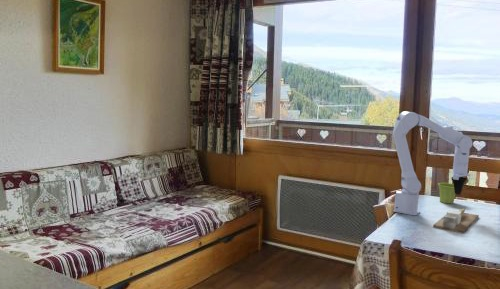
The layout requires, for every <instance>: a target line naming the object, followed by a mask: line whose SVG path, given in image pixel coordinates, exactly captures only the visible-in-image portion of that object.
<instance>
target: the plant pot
mask: <svg viewBox="0 0 500 289" xmlns="http://www.w3.org/2000/svg"><path fill="white" fill-rule="evenodd" d="M437 185H438V188H439V202H441V203H442V204H446V205H447V204H449V205H450V204H454V201H455V198H456V195H457V194H455V191H454V184H453V183H449V182H438V183H437Z"/></svg>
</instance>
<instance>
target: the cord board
mask: <svg viewBox="0 0 500 289" xmlns="http://www.w3.org/2000/svg"><path fill="white" fill-rule="evenodd" d="M465 209H466V208H461V209H459V210H458V211H459V212H461V222H460V223H459V224H458V225H456V218H457V217H453V216H448V215H447V213H446V214H444V216H443V217H441V218H440V219H439V220H438V221H437V222H435V223H433V227H432V228H435V229H439V230H445V231H450V232H453V233H455V232H456V233H460V234H465V232H466V231H467V230H468V229H469V228H470V227H471V226H472V225H473V224H474V223H475V222H476V221H477V220H478V219H479V214H472V213H467V212H466V211H465Z"/></svg>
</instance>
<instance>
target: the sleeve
mask: <svg viewBox="0 0 500 289" xmlns="http://www.w3.org/2000/svg"><path fill="white" fill-rule="evenodd" d="M446 214H447V215H448V216H453V217H457V218H456V225H458V224H459V223H460V222H461V212H459V210H452V209H449V210H448V211H447V212H446Z"/></svg>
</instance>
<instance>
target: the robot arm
mask: <svg viewBox="0 0 500 289" xmlns="http://www.w3.org/2000/svg"><path fill="white" fill-rule="evenodd" d="M395 119H396V120H395V123H394V126H393V130H392V137H393V140H394V146H395V150H396V152H397V153H396V154H397V157H398V161H399V166H400V169H401V175H400V176H401V180H400V185H401V187H402V189H401V190H397V191H396V193H395V195H394V205H393V211H392V212H395V213H399V214H405V215H411V216H416V215H419V214H420V213H421V210H418V207H419V197H420V191H421V189H422V183H421V181H420V180H419V179H418V176H417V174H416V172H415V170H414V165H413V162H412V156H411V153H410V148H409V144H408V139H407V134H408V133H409V132H410V130H412V129H413V128H414V127H416V126H423V127H425V128H428V129H430V130H431V131H433V132H436V133H437V134H438V137H439V138H440V139H442V140H444V141H446V142H448V143H450V144H452V145H454V155H453V165H452V172H451V174H452V177H451V181H452V184H454V191H455V194H456V195H459V196H460V195H462V192H463V188H464V187H465V183H466V182H467V180H468V177H469V176H471V174H470V173H468V169H469V160H470V149H471V148H472V147H473V145H474V143H473V140H472V138H471V137H470V136H468V135H464V133H463V132H462V131H458V130H456V129H455V128H454V127H453V126H452V125H449V126H448V125H445V126H442V125H440V124H438V123H436V122H435V121H434V120H431V119H430V118H427V117H426V116H424V115H421V114H418V113H416V112H414V111H407V110H405V111H402V112H400V113H399V114H398V116H397V117H396V118H395Z"/></svg>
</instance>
